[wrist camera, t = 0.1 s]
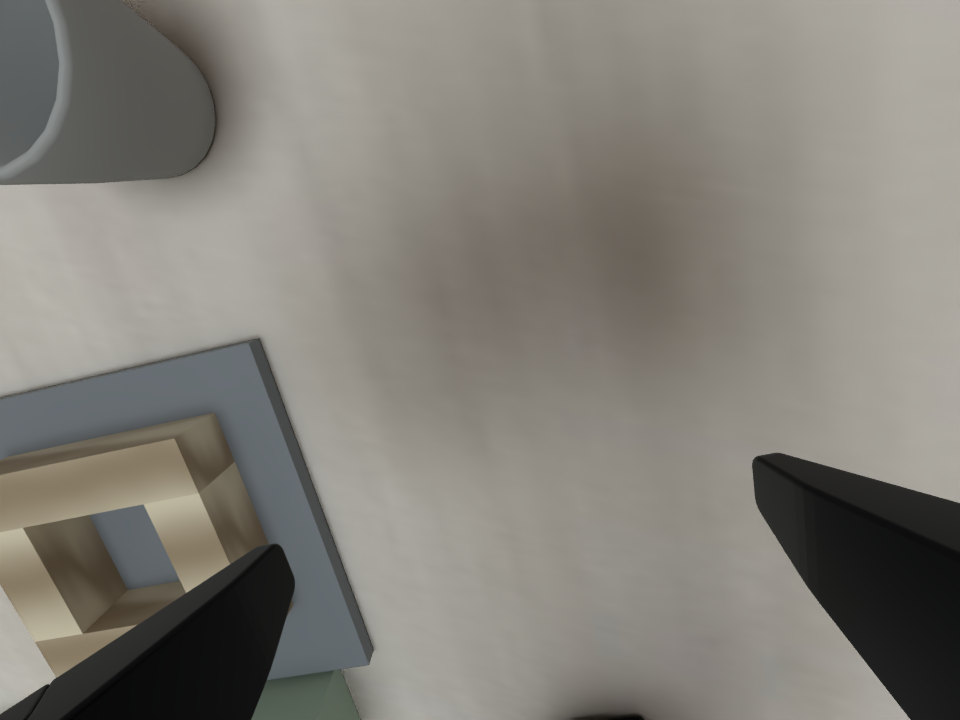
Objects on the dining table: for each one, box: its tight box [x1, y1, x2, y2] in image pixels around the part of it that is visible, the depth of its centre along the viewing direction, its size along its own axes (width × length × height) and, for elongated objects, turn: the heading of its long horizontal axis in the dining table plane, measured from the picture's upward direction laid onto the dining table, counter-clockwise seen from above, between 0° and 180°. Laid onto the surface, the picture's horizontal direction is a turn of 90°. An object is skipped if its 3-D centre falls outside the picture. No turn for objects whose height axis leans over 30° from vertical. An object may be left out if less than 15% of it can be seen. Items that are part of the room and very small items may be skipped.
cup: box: [0, 0, 215, 185], centre depth 16 cm, size 8×10×8 cm
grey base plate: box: [0, 338, 373, 680], centre depth 26 cm, size 20×18×1 cm
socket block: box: [0, 412, 294, 678], centre depth 24 cm, size 12×12×3 cm
